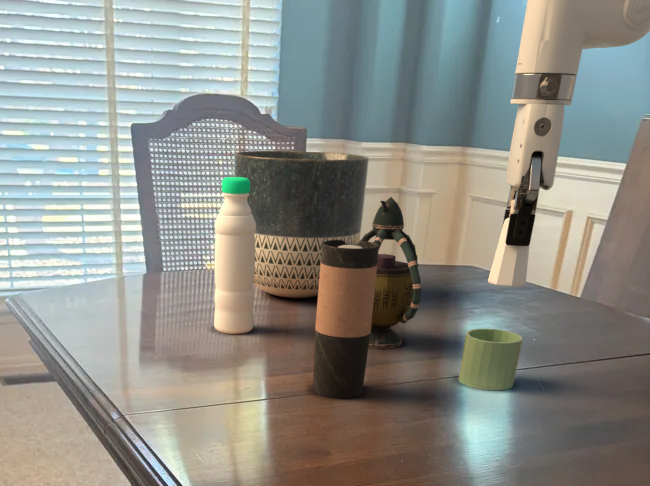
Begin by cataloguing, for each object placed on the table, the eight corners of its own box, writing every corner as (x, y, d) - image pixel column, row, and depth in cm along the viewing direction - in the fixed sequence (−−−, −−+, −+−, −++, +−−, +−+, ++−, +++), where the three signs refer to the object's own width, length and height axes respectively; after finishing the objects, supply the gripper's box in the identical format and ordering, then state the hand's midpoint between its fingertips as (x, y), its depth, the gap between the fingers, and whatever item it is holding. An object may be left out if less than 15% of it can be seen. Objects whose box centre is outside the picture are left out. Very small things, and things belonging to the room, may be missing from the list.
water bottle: (206, 328, 139) (206, 176, 127) (235, 322, 144) (238, 175, 131) (231, 337, 135) (234, 180, 123) (261, 330, 139) (266, 178, 127)
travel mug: (333, 402, 107) (346, 250, 97) (300, 387, 112) (309, 241, 102) (375, 393, 110) (392, 246, 100) (341, 379, 116) (353, 237, 106)
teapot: (346, 354, 127) (360, 202, 116) (333, 317, 149) (343, 186, 137) (419, 356, 127) (440, 204, 116) (395, 319, 149) (411, 187, 137)
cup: (508, 375, 119) (517, 330, 116) (517, 392, 112) (526, 344, 109) (456, 372, 120) (463, 327, 117) (461, 388, 113) (469, 341, 110)
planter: (213, 285, 172) (214, 150, 158) (319, 279, 181) (328, 151, 168) (262, 313, 151) (268, 159, 137) (379, 304, 160) (395, 159, 147)
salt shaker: (483, 278, 113) (497, 197, 108) (520, 279, 113) (536, 198, 107) (492, 286, 108) (507, 201, 103) (530, 287, 108) (548, 202, 103)
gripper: (588, 91, 91) (553, 254, 100) (559, 93, 106) (531, 235, 115) (523, 90, 92) (494, 251, 101) (503, 92, 106) (480, 233, 115)
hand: (514, 241), depth 108 cm, fingers closed on salt shaker, 4 cm apart
